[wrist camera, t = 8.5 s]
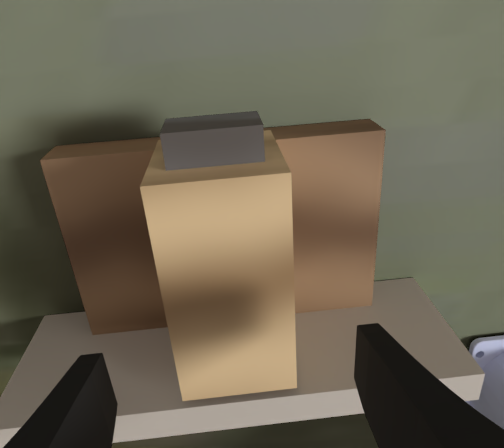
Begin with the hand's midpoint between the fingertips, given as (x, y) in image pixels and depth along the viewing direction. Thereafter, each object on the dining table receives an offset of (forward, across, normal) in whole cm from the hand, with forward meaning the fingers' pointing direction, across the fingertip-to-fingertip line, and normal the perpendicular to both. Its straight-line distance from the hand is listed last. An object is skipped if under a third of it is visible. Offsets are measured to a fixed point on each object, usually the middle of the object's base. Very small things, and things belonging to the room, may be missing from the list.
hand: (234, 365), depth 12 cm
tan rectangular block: (+8, 0, 0) cm, 8 cm away
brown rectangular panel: (+10, 0, 0) cm, 10 cm away
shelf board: (+10, 0, +6) cm, 11 cm away
